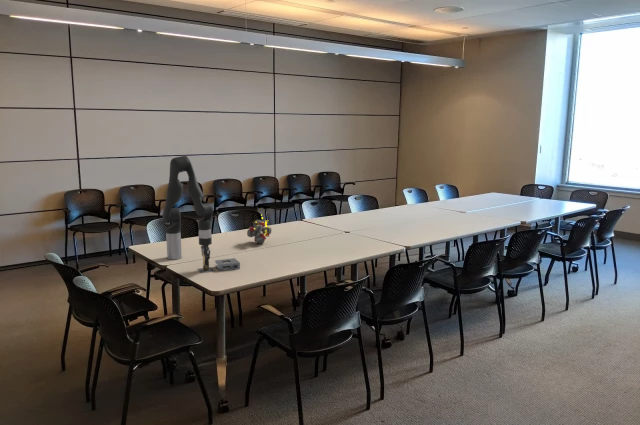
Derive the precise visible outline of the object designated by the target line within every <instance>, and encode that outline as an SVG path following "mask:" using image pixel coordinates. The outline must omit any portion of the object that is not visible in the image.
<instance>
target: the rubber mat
mask: <svg viewBox="0 0 640 425" xmlns="http://www.w3.org/2000/svg"><path fill="white" fill-rule="evenodd" d="M196 270H197V271H198V272H199V273H200V274H206V273H214V272H216V270H215V269H214V268H213V267H210V266H209V271H203V267H202V268H197V269H196Z"/></svg>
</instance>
